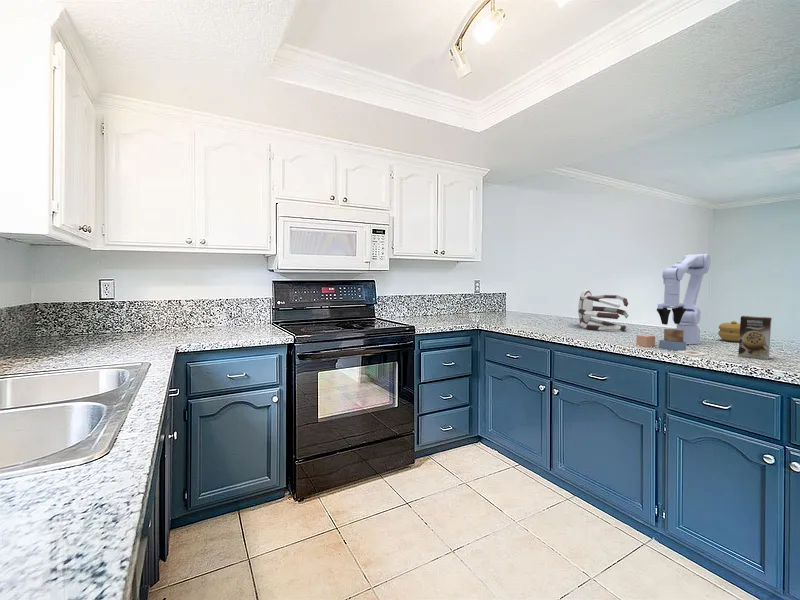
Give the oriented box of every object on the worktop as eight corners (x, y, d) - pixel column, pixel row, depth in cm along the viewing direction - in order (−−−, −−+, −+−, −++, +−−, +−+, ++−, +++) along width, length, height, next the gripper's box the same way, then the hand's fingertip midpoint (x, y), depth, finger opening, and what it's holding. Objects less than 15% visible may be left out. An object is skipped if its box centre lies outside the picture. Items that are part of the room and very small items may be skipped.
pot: (735, 343, 189) (736, 322, 189) (711, 339, 201) (712, 320, 200) (755, 342, 192) (756, 322, 191) (730, 338, 203) (731, 319, 203)
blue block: (670, 348, 181) (670, 339, 181) (685, 350, 175) (686, 341, 175) (659, 349, 179) (659, 340, 179) (674, 351, 173) (674, 342, 172)
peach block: (644, 345, 188) (645, 334, 188) (654, 346, 183) (655, 336, 183) (636, 345, 187) (636, 335, 186) (646, 347, 182) (646, 336, 182)
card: (689, 351, 172) (689, 350, 172) (708, 354, 164) (708, 353, 164) (675, 352, 169) (675, 351, 169) (694, 356, 162) (694, 354, 162)
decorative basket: (596, 323, 267) (640, 334, 233) (562, 325, 259) (602, 337, 226) (598, 287, 263) (644, 293, 230) (564, 288, 256) (605, 294, 223)
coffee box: (737, 356, 160) (739, 316, 159) (739, 354, 165) (741, 315, 164) (768, 359, 154) (770, 318, 153) (769, 357, 158) (771, 316, 157)
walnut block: (676, 340, 179) (676, 328, 179) (683, 341, 174) (683, 330, 174) (663, 339, 179) (664, 328, 179) (670, 341, 174) (670, 330, 174)
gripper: (675, 293, 188) (674, 322, 189) (651, 294, 183) (650, 323, 184) (690, 294, 181) (689, 324, 182) (666, 294, 177) (665, 325, 177)
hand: (670, 324), depth 183 cm, fingers open, 7 cm apart
